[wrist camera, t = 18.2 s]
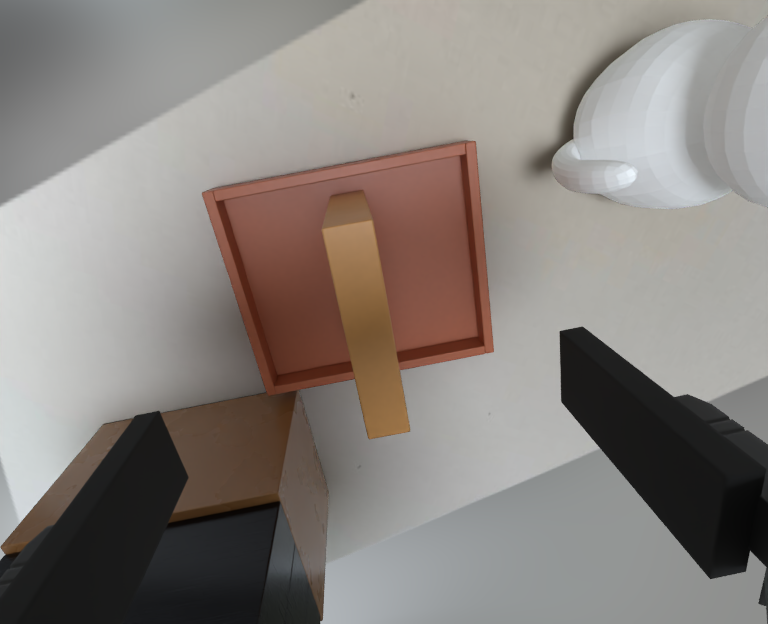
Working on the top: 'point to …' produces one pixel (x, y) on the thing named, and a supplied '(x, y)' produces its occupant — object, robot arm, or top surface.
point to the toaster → (223, 516)
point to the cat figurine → (676, 120)
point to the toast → (365, 312)
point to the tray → (397, 256)
